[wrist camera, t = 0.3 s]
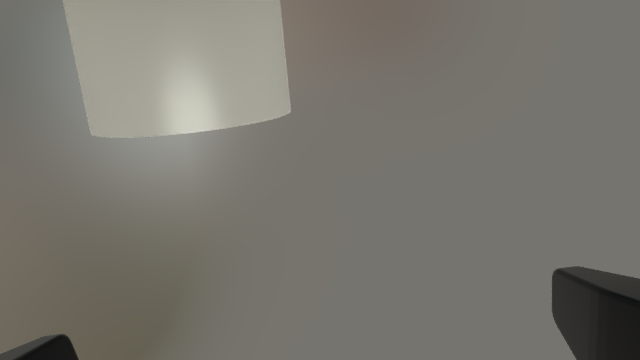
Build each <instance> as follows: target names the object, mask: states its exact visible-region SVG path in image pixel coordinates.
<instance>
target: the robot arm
mask: <svg viewBox="0 0 640 360" xmlns="http://www.w3.org/2000/svg"><path fill="white" fill-rule="evenodd" d="M552 313H553V317H554V320H555V323H556V325H557V327H558V328H559V330H560V332H561V333H562V335H563V337H564V339H565V340H566V342H567V344H568V345H569V347H570V349H571V351H572V353H573V354H574V356H575V358H576V359H577V360H640V279H638V278H633V277H628V276H624V275H619V274H613V273H609V272H603V271H599V270H593V269H589V268H584V267H579V266H578V267H576V266H574V267H566V268H559V269H556V270H555V271H554V272H553V276H552ZM0 360H79V359H78V357H77V354H76V352H75V350H74V348H73V345H72V343H71V340H70V338H69V337H68V336H66V335H64V334H57V335H50V336H44V337H41V338H39V339H36V340H34V341H31V342H29V343H26V344H24V345H22V346H19V347H17V348H14V349H12V350H9V351H7V352H4V353H2V354H0Z"/></svg>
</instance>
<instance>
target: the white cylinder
mask: <svg viewBox="0 0 640 360" xmlns="http://www.w3.org/2000/svg"><path fill="white" fill-rule="evenodd" d="M63 5H64V9H65V14H66V19H67V24H68V29H69V33H70V38H71V43H72V48H73V52H74V57H75V62H76V67H77V71H78V76H79V81H80V86H81V91H82V95H83V100H84V105H85V110H86V114H87V119H88V124H89V128H90V133H91V135H94V136H98V137H112V138H113V137H114V138H120V137H121V138H127V137H149V136H163V135H174V134H184V133H193V132H202V131H209V130H217V129H224V128H230V127H236V126H242V125H248V124H253V123H258V122H262V121H267V120H271V119H275V118H278V117H281V116H284V115H286V114H288V113H290V112H291V106H290V96H289V87H288V77H287V67H286V56H285V47H284V36H283V26H282V16H281V5H280V0H63Z"/></svg>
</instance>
